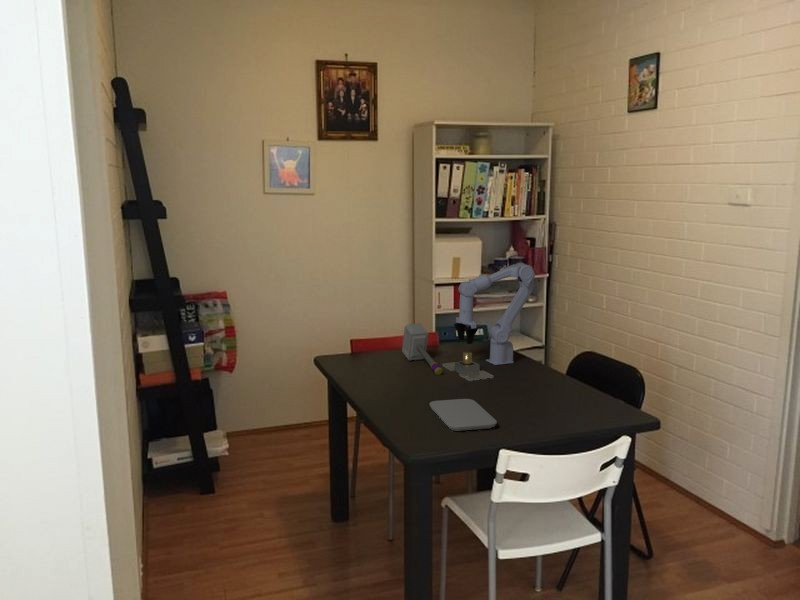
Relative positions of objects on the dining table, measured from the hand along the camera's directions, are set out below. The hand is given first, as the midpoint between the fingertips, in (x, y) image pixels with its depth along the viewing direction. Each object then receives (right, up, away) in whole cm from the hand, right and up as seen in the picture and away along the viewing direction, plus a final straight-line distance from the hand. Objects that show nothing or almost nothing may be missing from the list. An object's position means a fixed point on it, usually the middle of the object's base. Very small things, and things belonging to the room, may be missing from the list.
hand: (465, 341), depth 291 cm
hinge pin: (0, -12, -11) cm, 16 cm away
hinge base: (0, -12, -11) cm, 16 cm away
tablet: (-7, -22, -64) cm, 68 cm away
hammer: (-18, -10, -3) cm, 21 cm away
